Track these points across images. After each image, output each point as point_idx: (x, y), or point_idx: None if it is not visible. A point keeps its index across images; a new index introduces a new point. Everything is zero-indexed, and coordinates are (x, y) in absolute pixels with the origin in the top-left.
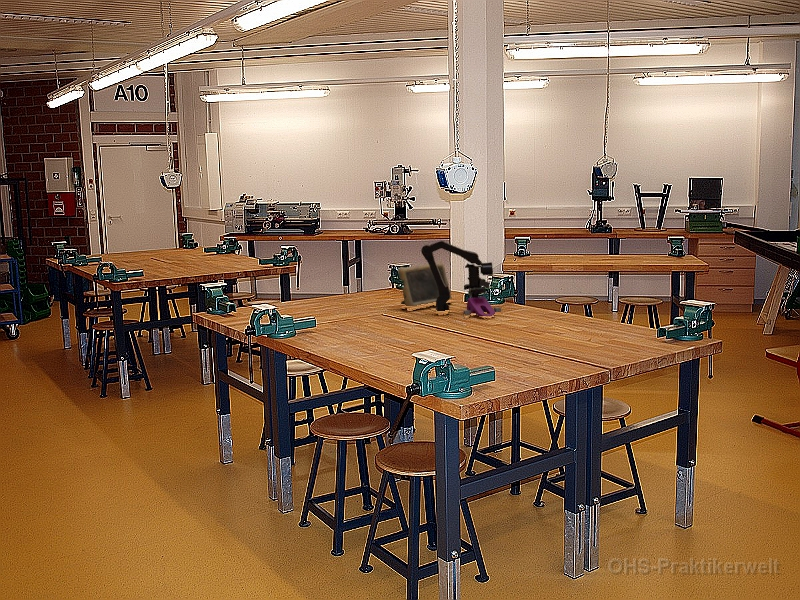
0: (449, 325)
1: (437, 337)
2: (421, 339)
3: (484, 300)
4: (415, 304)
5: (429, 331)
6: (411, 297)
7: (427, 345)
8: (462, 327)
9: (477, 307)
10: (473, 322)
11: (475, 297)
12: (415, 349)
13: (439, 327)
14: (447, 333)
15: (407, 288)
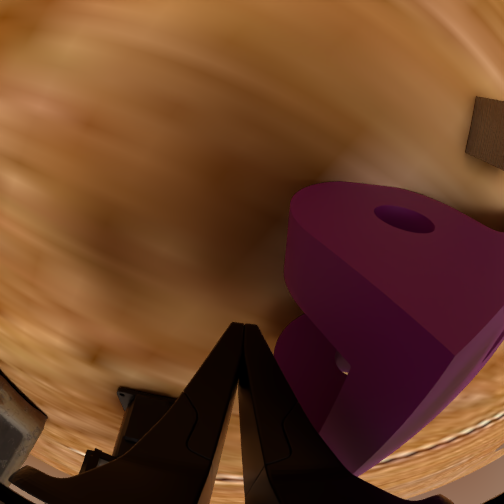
0: (435, 431)
1: (486, 439)
2: (466, 455)
3: (493, 331)
4: (24, 425)
5: (434, 456)
6: (15, 451)
7: (497, 442)
8: (492, 404)
9: (469, 379)
10: (490, 368)
11: (367, 461)
12: (492, 449)
13: (425, 447)
14: (488, 429)
15: (9, 482)
